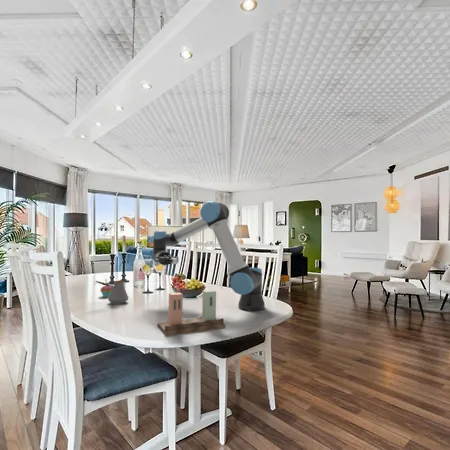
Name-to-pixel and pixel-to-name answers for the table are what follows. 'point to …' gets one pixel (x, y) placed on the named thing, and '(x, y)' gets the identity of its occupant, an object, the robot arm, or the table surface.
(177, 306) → the salmon orange rectangular block
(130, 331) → the table surface
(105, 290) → the cupcake
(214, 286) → the table surface
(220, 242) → the robot arm
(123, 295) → the coffee pot
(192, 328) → the wooden board
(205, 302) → the pale green block
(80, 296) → the table surface
